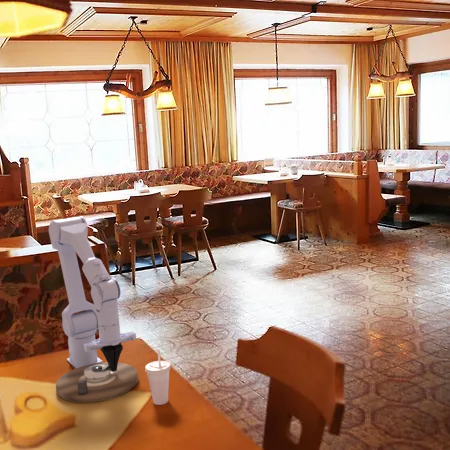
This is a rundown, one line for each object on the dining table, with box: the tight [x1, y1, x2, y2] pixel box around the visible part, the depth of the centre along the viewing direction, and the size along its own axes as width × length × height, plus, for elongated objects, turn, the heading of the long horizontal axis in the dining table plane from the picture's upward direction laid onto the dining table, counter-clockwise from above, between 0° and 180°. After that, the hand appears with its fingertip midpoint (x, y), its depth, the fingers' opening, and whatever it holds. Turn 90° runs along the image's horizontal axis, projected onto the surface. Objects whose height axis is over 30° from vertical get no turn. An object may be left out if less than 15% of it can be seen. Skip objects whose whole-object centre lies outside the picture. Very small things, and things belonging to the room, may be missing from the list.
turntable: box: [55, 361, 139, 403], centre depth 161 cm, size 22×22×4 cm
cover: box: [84, 364, 111, 383], centre depth 161 cm, size 7×7×3 cm
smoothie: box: [144, 348, 171, 406], centre depth 149 cm, size 6×6×14 cm
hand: (113, 370), depth 164 cm, fingers closed
